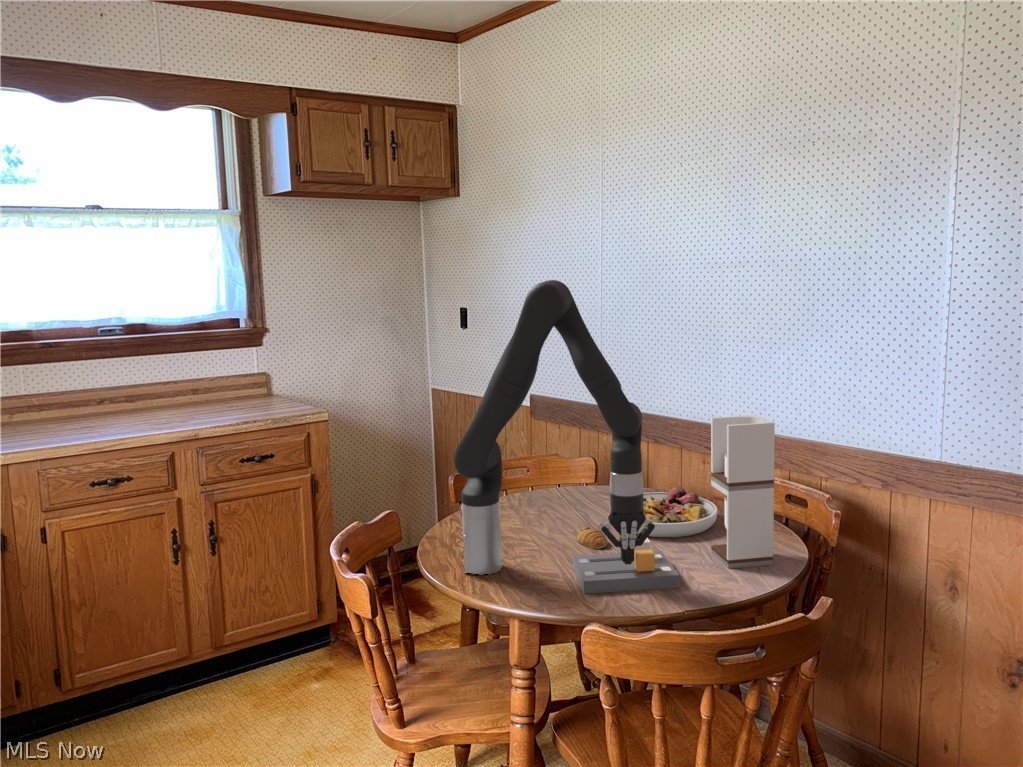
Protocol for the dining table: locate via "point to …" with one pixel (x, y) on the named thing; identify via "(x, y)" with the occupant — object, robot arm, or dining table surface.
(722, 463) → the white upright stand
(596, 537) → the pastry
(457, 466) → the robot arm
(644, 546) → the on slider
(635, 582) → the switch panel
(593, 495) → the dining table surface
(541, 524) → the dining table surface
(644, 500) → the bowl
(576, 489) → the dining table surface
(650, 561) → the slider
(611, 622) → the dining table surface
